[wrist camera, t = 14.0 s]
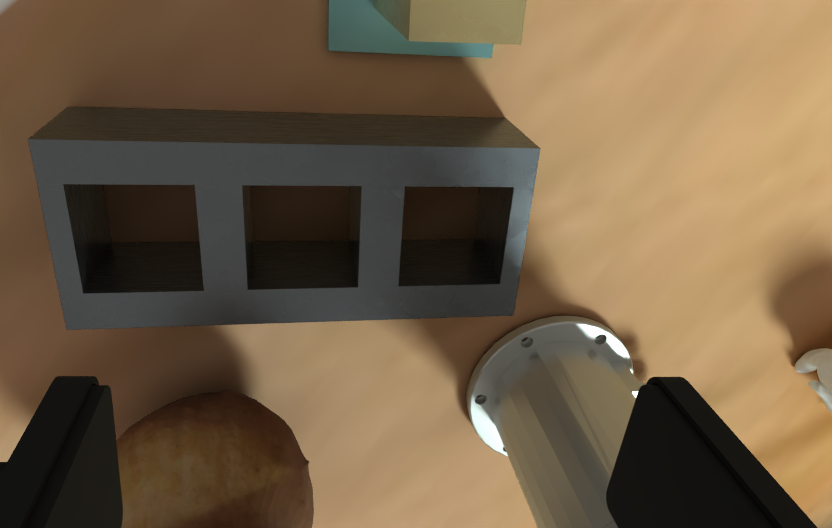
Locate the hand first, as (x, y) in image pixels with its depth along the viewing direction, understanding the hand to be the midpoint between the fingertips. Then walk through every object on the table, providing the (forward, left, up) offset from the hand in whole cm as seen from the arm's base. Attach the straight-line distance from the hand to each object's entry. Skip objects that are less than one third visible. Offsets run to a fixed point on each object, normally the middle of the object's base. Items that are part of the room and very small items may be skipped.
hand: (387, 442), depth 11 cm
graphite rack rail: (+1, +6, -28) cm, 29 cm away
